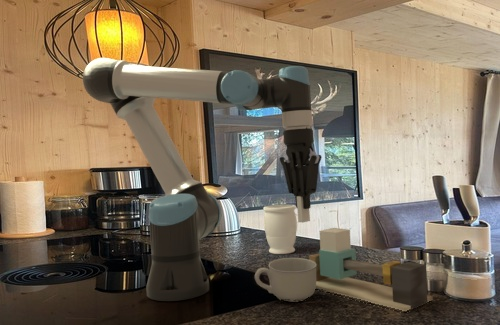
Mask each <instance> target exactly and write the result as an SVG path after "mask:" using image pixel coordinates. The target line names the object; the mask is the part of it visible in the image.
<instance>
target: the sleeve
mask: <svg viewBox="0 0 500 325" xmlns="http://www.w3.org/2000/svg"><path fill="white" fill-rule="evenodd" d="M319 244H320V245H319V246H320V247H319V248H320V249H319V250H318V253H319V258H320V275H322V276H326V277H331V278H335V279H339V280H340V279H343V278H346V277H348V278H351V277H353V276H356V275H358V271H355V270H350V269H345V268H344V265H343V259H344V258H345V259H351V260H356V261H357V253H356V248H353V247H352V246H351V244H352V243H351V231H350V229H347V228H337V227H332V228H330V227H329V228H327V229H321V230H319Z"/></svg>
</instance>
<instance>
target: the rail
mask: <svg viewBox="0 0 500 325" xmlns="http://www.w3.org/2000/svg"><path fill="white" fill-rule="evenodd" d="M308 260H312V261H314V262H315V263H316V264H317V267H316V288H319V289H323V290H326V291H330V292H334V293H337V294H341V295H345V296H349V297H353V298H357V299H361V300H365V301H368V302H371V303H375V304H379V305H383V306H387V307H391V308H395V309H399V310H402V311H407V310H409V309H412V308H415V307H417V306H419V305H422V304H424V303H427V302H429V301H431V300H433V301H434V298H433V295H429V294H428V286H427V269H426V268H427V267H426V264H423V263H417V262H412V261H406V262H404V263H402V262H401V261H397V260H392V261H389V262H385V263H382V264H378V263H372V262H367V261H361V260H357V259H356V260H351V259H345V258H344V259H343V265H344V268H345V269H350V270H355V271H357V272H361V273H365V274H370V275H375V276H380V277H382V281H383V284H386V285H383V284H379V283H374V282H370V281H365V280H361V279H356V278H352V277H346V278H343V279H340V280H339V279H335V278H331V277H326V276H322V275H320V258H319V252H318V253H315V254H310V255H309V256H308ZM387 285H390V286H387ZM427 304H428V303H427Z"/></svg>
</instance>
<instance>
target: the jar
mask: <svg viewBox="0 0 500 325" xmlns="http://www.w3.org/2000/svg"><path fill="white" fill-rule="evenodd" d="M296 209H297V208H296V204H285V203H284V204H281V203H280V204H271V205H266V206H263V211H264V212H265V213H264V217H263V218H264V219H263V220H264V221H263V226H264V232H265V237H266V240H267V241H266V242H267V244H268V246H269V247H270V248H269V249H268V252H269V253H270V254H272V255H273V254H275V255H287V254H291V253H294V252H295V251H296V248H295V247H294V245H295V243H296V239H297V230H298V228H297V227H298V221H297V220H298V219H297V216H296V213H295V210H296Z"/></svg>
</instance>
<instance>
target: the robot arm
mask: <svg viewBox="0 0 500 325" xmlns="http://www.w3.org/2000/svg"><path fill="white" fill-rule="evenodd" d="M277 75H278V76H276V77H271V78H258V77H256V76H254V75H252V74H251V73H250V72H248V71H245V70H240V69H239V70H238V69H234V70H232V71H222V70H207V69H194V68H179V67H177V68H176V67H164V66H147V65H135V64H131V63H129V62H128V61H127V60H122V59H121V60H120V59H115V58H114V59H113V58H109V57H98V58H95V59H94V60H92V61H90V62H89V63H88V64H87V65H86V67H85V68H84V70H83V74H82V83H83V84H82V85H83V87H84V90H85V91H86V92H87V94H88V95H89V96H90V97H91V98H92V99H94V100H96V101H98V102H101V103H105V104H110V105H111V107H112V110H113V112H114V114H115V115H116V116H117V118H118V119H122V120H124V121H125V122H126V124H127V126H128V127H129V129H130V131H131V134H133V137H134V138H135V141H136V142H137V144H138V146H139V148H140V150H141V151H142V153H143V155H144V157H145V158H146V160H147V163H148V164H149V166H150V168H151V169H152V172H153V174H154V175H155V178H156V179H157V181H158V182H159V184H160V186H161V188H162V190H163V191H164V196H160V197H157V198H155V199H153V200H151V202H150V203H149V206H148V207H149V208H148V220H149V221H148V222H149V223H148V224H149V235H150V249H151V250H150V252H151V266H150V270H149V275H148V278H147V283H146V286H145V287H146V288H145V289H146V297H147V298H148V299H150V300H153V301H159V302H177V301H184V300H190V299H195V298H197V297H200V296H203V295H205V294H206V293H208V292H209V291H210V282H209V277H208V274H207V272H206V270H205V267H204V265H203V262H202V260H201V251H200V250H201V249H200V240H201V239H202V238H206V237H208V236H209V235H211V234H212V233H213V232H215V230H217V228H218V227H219V225H220V223H221V221H222V215H223V214H222V211H223V210H222V206H221V205H220V201H219V200H218V199H217V198H216V197H215V196H213V195H212V194H210V193H208V192H207V189H206V187H205V186H204V185H203V182H201V181H200V180H199V181H198V180H197V179H196V180H195V179H194V178H193V176H192V174H191V173H190V171H189V169H188V167H187V165H186V163H185V162H184V160H183V158H182V156H181V155H180V153H179V152H180V151H179V150H178V149H177V147H176V145H175V143H174V141H173V140H172V138H171V136H170V134H169V133H168V131H167V129H166V127H165V125H164V122H162V120H161V118H160V116H159V114H158V112H157V111H156V109H155V106H154V104H155V101H156V99H162V100H163V99H166V100H178V101H191V102H203V103H215V104H224V105H234V106H235V108H236V109H237V110H238V111H253V110H260V109H261V110H262V109H268V108H269V109H271V108H281V118H282V119H281V122H282V128H283V129H285V130H284V131H283V132H282V135H283V144H284V145H285V146H286V151H285V155H283V157H282V156H281V157H279V162H280V163H281V165H282V168H283V173H284V177H285V182H286V186H287V189H288V193H289V194H292V195H293V196H294V198H295V205H296V208H295V209H297V220H298V221H297V223H306V222H310V221H311V214H310V209H311V196H312V194H315V193H316V192H317V187H318V177H319V170H320V169H319V167H320V163H321V160H322V155H321V154H316V152H315V151H314V148H313V143H314V142H315V141H314V140H315V139H314V129H313V128H311V127H312V126H313V116H312V113H313V112H312V98H311V97H312V96H311V83H310V77H309V69H308V68H306V67H305V66H302V65H293V66H292V65H291V66H287V67H286V66H285V67H282V68H280V69H279V71H278V74H277Z"/></svg>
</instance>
